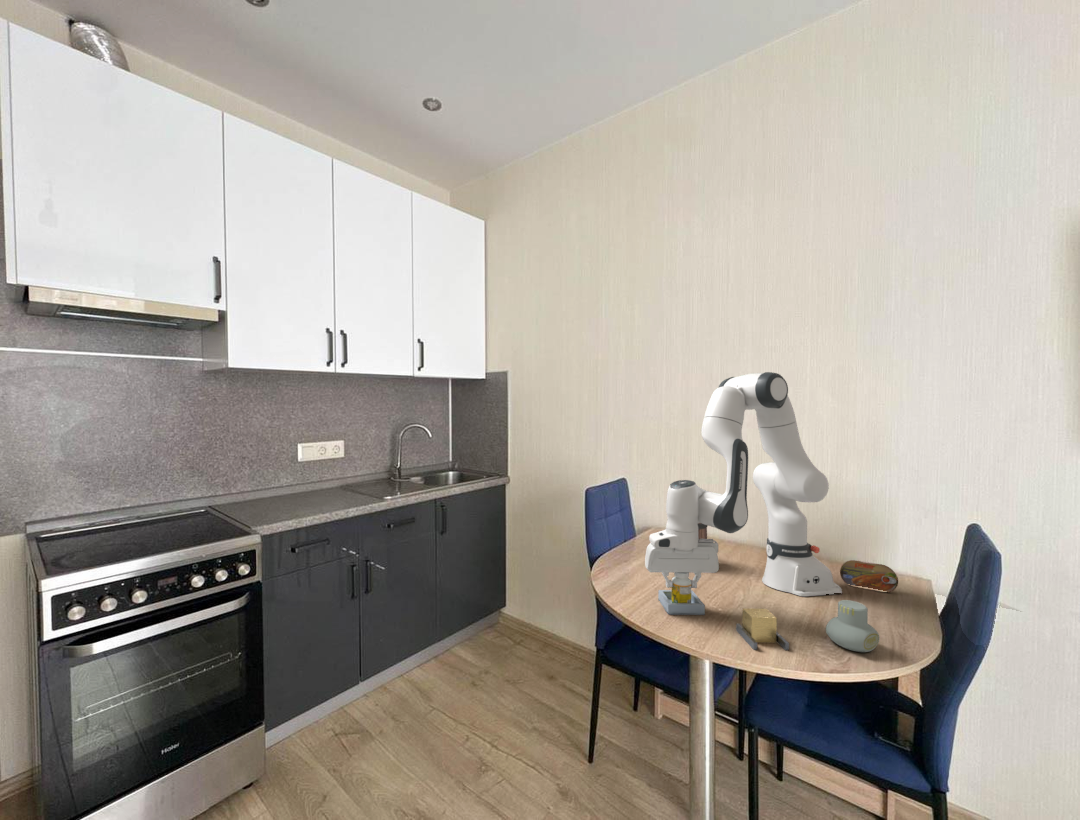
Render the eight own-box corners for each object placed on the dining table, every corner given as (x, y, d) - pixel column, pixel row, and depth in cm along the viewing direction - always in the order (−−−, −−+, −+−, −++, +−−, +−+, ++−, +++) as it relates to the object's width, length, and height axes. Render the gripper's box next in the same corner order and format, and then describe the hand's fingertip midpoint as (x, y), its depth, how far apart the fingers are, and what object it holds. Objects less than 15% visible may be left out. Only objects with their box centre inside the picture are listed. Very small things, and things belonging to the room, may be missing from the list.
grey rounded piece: (846, 633, 116) (847, 594, 116) (883, 648, 109) (884, 606, 109) (821, 643, 111) (821, 602, 111) (858, 660, 104) (858, 616, 104)
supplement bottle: (693, 609, 127) (694, 575, 127) (674, 609, 127) (674, 574, 127) (687, 601, 133) (688, 568, 133) (669, 600, 133) (669, 567, 133)
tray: (692, 600, 135) (692, 590, 135) (704, 616, 125) (704, 605, 125) (658, 600, 135) (658, 589, 135) (668, 615, 125) (668, 604, 125)
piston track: (757, 617, 125) (757, 610, 125) (793, 651, 107) (793, 643, 107) (719, 616, 125) (719, 609, 125) (749, 651, 107) (749, 642, 107)
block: (765, 632, 116) (766, 608, 116) (776, 642, 111) (776, 617, 111) (742, 632, 116) (742, 608, 116) (751, 642, 111) (751, 617, 111)
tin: (839, 584, 149) (840, 559, 149) (839, 581, 152) (840, 556, 152) (898, 596, 141) (898, 568, 141) (897, 592, 144) (897, 565, 144)
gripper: (714, 535, 133) (713, 583, 133) (643, 535, 133) (643, 582, 133) (722, 542, 127) (722, 591, 127) (649, 541, 127) (648, 591, 127)
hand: (681, 587), depth 130 cm, fingers open, 5 cm apart
